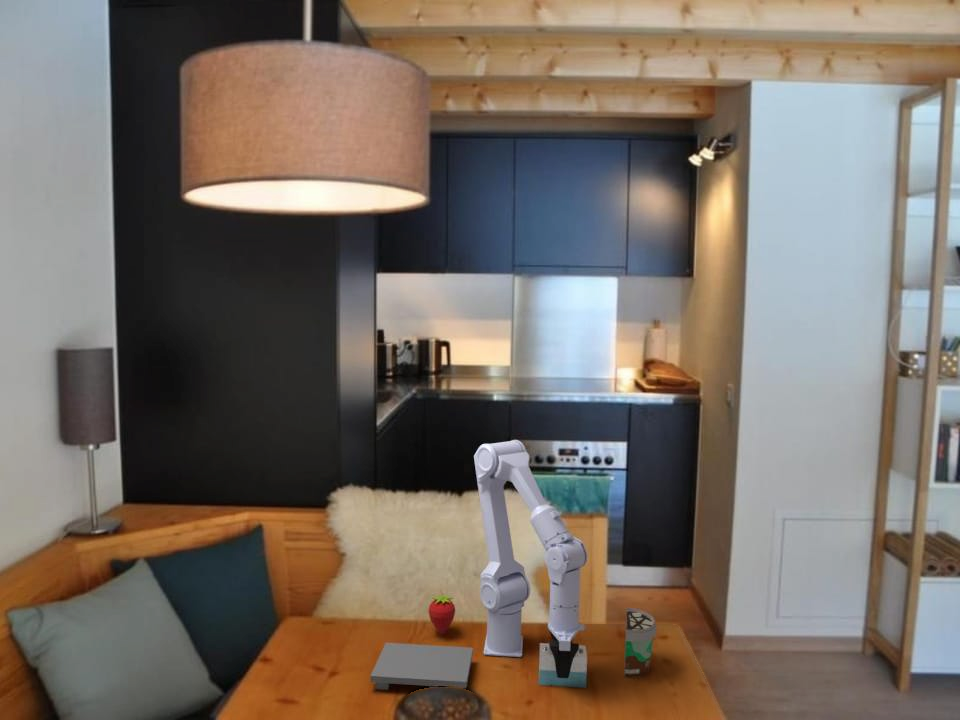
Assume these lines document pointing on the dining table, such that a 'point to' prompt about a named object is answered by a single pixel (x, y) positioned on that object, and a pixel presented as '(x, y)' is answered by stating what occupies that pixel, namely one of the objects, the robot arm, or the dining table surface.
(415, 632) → the dining table surface
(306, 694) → the dining table surface
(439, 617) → the strawberry
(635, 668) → the food container
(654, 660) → the dining table surface
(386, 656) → the stand
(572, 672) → the housing
